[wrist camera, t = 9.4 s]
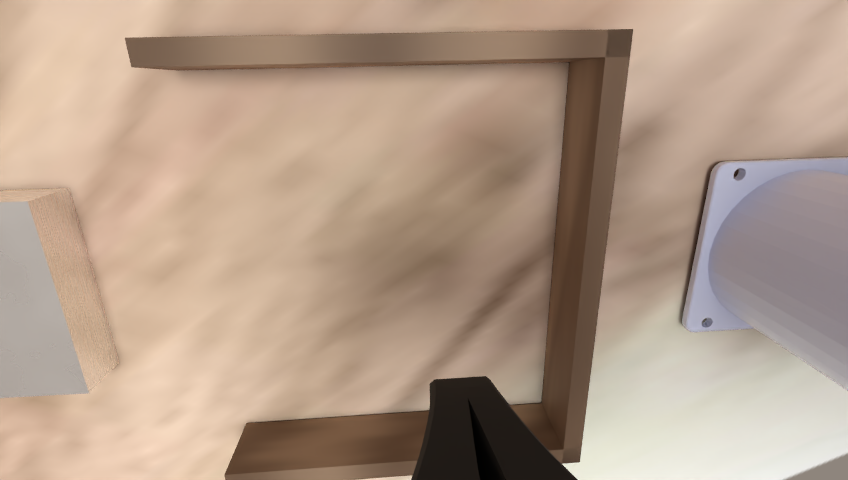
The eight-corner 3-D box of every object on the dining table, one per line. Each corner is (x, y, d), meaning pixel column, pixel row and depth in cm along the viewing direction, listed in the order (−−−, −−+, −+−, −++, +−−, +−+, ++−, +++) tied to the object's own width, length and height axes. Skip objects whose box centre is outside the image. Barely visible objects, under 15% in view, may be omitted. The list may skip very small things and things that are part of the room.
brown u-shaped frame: (591, 38, 17) (633, 29, 14) (555, 414, 23) (579, 462, 20) (172, 46, 16) (124, 37, 13) (249, 436, 22) (227, 489, 19)
